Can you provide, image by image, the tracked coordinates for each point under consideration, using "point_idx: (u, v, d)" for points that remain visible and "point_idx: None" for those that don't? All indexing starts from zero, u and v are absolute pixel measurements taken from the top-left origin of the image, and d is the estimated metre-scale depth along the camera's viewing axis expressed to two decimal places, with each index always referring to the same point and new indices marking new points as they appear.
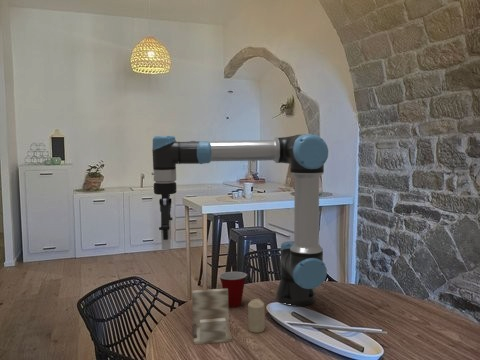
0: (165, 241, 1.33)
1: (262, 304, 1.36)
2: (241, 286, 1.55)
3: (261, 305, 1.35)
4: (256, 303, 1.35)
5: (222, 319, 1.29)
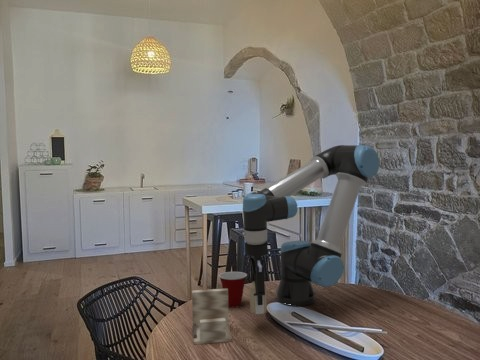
0: (259, 306, 1.33)
1: None
2: (241, 286, 1.55)
3: None
4: None
5: (222, 319, 1.29)
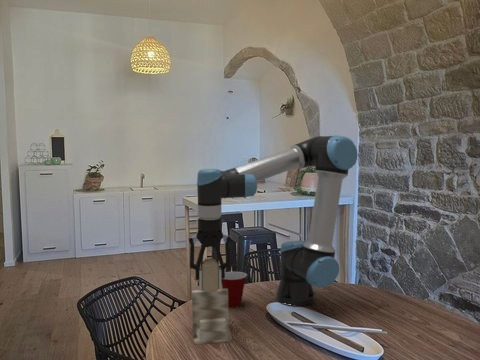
0: None
1: (206, 264, 1.30)
2: (241, 286, 1.55)
3: (203, 264, 1.30)
4: (204, 260, 1.32)
5: (222, 319, 1.29)
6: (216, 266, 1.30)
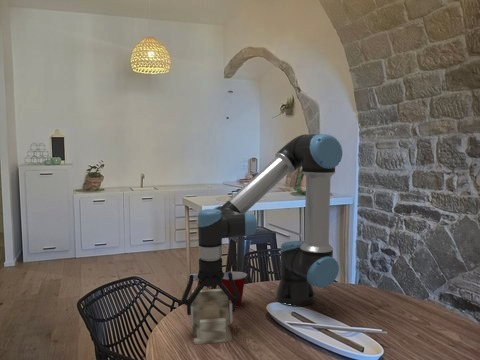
0: None
1: (207, 307, 1.31)
2: (241, 286, 1.55)
3: (204, 307, 1.32)
4: (205, 303, 1.33)
5: (222, 319, 1.29)
6: (217, 309, 1.32)
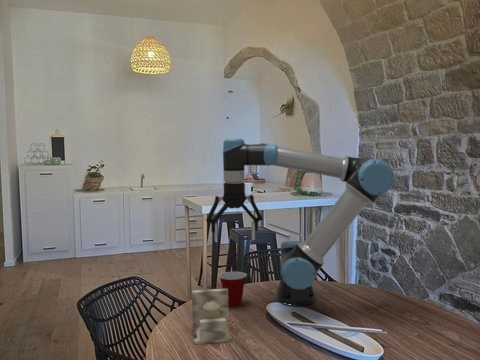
0: None
1: (207, 307, 1.31)
2: (241, 286, 1.55)
3: (204, 307, 1.32)
4: (205, 303, 1.33)
5: (222, 319, 1.29)
6: (217, 309, 1.32)
